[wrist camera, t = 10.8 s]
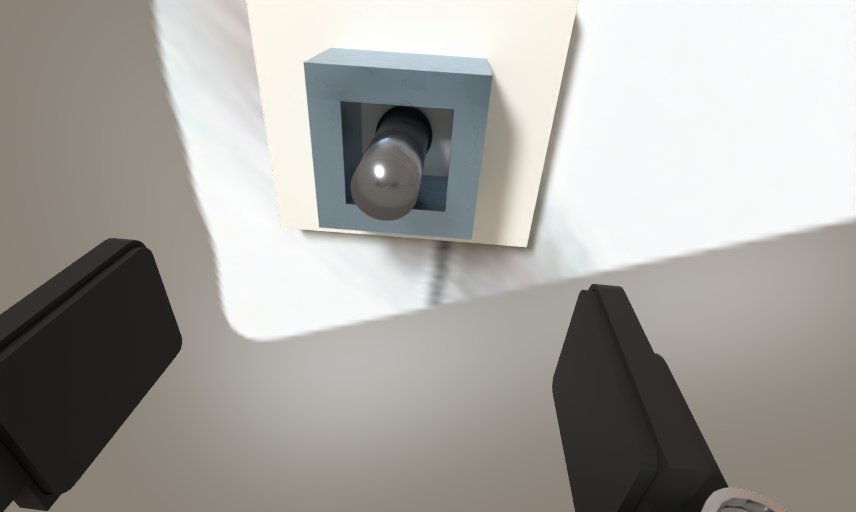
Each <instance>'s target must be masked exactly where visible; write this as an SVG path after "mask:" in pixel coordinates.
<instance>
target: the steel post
mask: <svg viewBox="0 0 856 512" xmlns="http://www.w3.org/2000/svg"><path fill="white" fill-rule="evenodd" d="M432 136H433V132H432V126H431V123H430V121H429V119H428V118H427V116H426V115H425V114H424V113H423V112H422V111H420V110H419V109H417V108H415V107H413V106H402V105H398V106H394V107H392V108H390V109H389V110H387V111H386V112H385V113H384V114H383V115H382V117H381V118H380V120H379V122H378V124H377V127H376V134H375V136H374V138H373V140H372V141H371V143H370V145H369V147H368V149H367V151H366V152H365V154H364V156H363V158H362V160H361V161H360V163H359V165H358V167H357V169H356V171H355V172H354V174H353V176H352V180H351V194H352V198H353V200H354V202H355V204H356V205H357V206H358V208H359V209H360V210H361V211H362V212H363V213H365V214H366V215H368V216H370V217H372V218H374V219H377V220H382V221H392V220H397V219H399V218H402V217H404V216H405V215H407V214H408V213H409V212H410V211H411V210H412V209H413V207H414V205H415V203H416V201H417V197H418V192H419V187H420V182H421V177H422V172H423V167H424V162H425V157H426V153H427V152H428V150H429V148H430V146H431V142H432Z"/></svg>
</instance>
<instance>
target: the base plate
mask: <svg viewBox="0 0 856 512" xmlns="http://www.w3.org/2000/svg"><path fill="white" fill-rule="evenodd" d="M246 2H247V9H248V15H249V22H250V29H251V35H252V42H253V48H254V55H255V62H256V68H257V75H258V82H259V88H260V95H261V102H262V108H263V115H264V121H265V128H266V135H267V141H268V148H269V155H270V161H271V168H272V175H273V181H274V188H275V194H276V201H277V208H278V214H279V221H280V228H291V229H303V230H316V231H329V232H341V233H354V234H366V235H379V236H392V237H404V238H417V239H430V240H442V241H455V242H467V243H480V244H493V245H505V246H518V247H527V243H528V238H529V233H530V229H531V224H532V219H533V214H534V209H535V205H536V200H537V195H538V190H539V186H540V181H541V176H542V171H543V167H544V162H545V157H546V152H547V147H548V143H549V138H550V133H551V128H552V124H553V119H554V114H555V109H556V105H557V100H558V95H559V90H560V85H561V81H562V76H563V71H564V66H565V62H566V57H567V52H568V47H569V43H570V38H571V33H572V28H573V23H574V19H575V14H576V9H577V4H578V0H246ZM329 48H341V49H356V50H370V51H385V52H399V53H414V54H428V55H442V56H457V57H471V58H486V59H487V60H488V63H489V66H490V69H491V72H492V75H493V77H492V84H491V92H490V100H489V108H488V116H487V124H486V131H485V139H484V147H483V155H482V163H481V171H480V178H479V186H478V194H477V202H476V210H475V218H474V226H473V233H472V240H469V239H457V238H444V237H432V236H419V235H406V234H394V233H381V232H369V231H356V230H344V229H331V228H319V221H318V211H317V200H316V190H315V179H314V169H313V158H312V147H311V137H310V126H309V116H308V105H307V94H306V84H305V73H304V63H303V62H305V61H307V60H309V59H310V58H312V57H314V56H316V55H318V54H320V53H322V52H324V51H326V50H328V49H329ZM394 106H398V105H388V104H374V103H361V116H362V150H363V156H364V154H365V152H366V151H367V149H368V147H369V145H370V143H371V141H372V140H373V138H374V136H375V134H376V127H377V124H378V122H379V120H380V118H381V117H382V115H383V114H384V113H385V112H386V111H387V110H389V109H390V108H392V107H394ZM413 107H415V108H417V109H419V110H420V111H422V112H423V113H424V114H425V115H426V116H427V118H428V119H429V121H430V123H431V126H432V132H433V136H432V142H431V146H430V148H429V150H428V152H427V153H426V157H425V162H424V167H423V172H422V175H431V176H444V177H448V167H449V155H450V143H451V131H452V119H453V109H443V108H430V107H416V106H413Z"/></svg>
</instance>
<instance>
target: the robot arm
mask: <svg viewBox="0 0 856 512" xmlns="http://www.w3.org/2000/svg"><path fill="white" fill-rule="evenodd" d="M181 346H182V337H181V334H180V331H179V328H178V325H177V322H176V319H175V316H174V314H173V311H172V308H171V305H170V302H169V299H168V296H167V294H166V291H165V288H164V285H163V283H162V279H161V276H160V274H159V271H158V268H157V265H156V262H155V259H154V256H153V254H152V252H151V251H150V250H149V249H148V248H146V246H145V245H144V244H143V243H142V242H140V241H137V240H128V239H117V238H110V239H107V240H105V241H103V242H102V243H101V244H99V245H98V246H96V247H95V248H94V249H92V250H91V251H89V252H88V253H87V254H85V255H84V256H82V257H81V258H80V259H78V260H77V261H75V262H74V263H72V264H71V265H70V266H68V267H67V268H65V269H64V270H63V271H61V272H60V273H58V274H57V275H56V276H54V277H53V278H51V279H50V280H49V281H47V282H46V283H44V284H43V285H41V286H40V287H39V288H37V289H36V290H34V291H33V292H32V293H30V294H29V295H27V296H26V297H24V298H23V299H22V300H21V301H19V302H17V303H16V304H15V305H13V306H12V307H10V308H9V309H8V310H6V311H5V312H3V313H2V314H1V315H0V512H4V510H5V509H6V508H7V507H8V506H9V505H10V503H11V502H12V501H13V500H14V501H15V502H16V504H17V505H18V506H19V507H21V508H29V509H36V510H44V511H48V510H49V509H50V507H51V506H52V505H53V504H54V502H55V501H56V500H57V499H58V497H59V496H60V495H61V494H62V493H65V492H67V491H68V490H70V489H71V488H72V487H73V486H74V485H75V484H76V482H77V481H78V480H79V478H80V477H81V476H82V475H83V473H84V472H85V471H86V470H87V468H88V467H89V466H90V465H91V463H92V462H93V461H94V460H95V458H96V457H97V456H98V455H99V453H100V452H101V451H102V449H103V448H104V447H105V446H106V444H107V443H108V442H109V441H110V439H111V438H112V437H113V435H114V434H115V433H116V432H117V430H118V429H119V428H120V427H121V425H122V424H123V423H124V422H125V420H126V419H127V417H129V415H130V414H131V413H132V411H133V410H134V409H135V408H136V406H137V405H138V404H139V403H140V401H141V400H142V399H143V397H144V396H145V395H146V394H147V392H148V391H149V390H150V389H151V387H152V386H153V385H154V383H155V382H156V381H157V380H158V379H159V377H160V376H161V375H162V373H163V372H164V371H165V370H166V368H167V367H168V366H169V365H170V363H171V362H172V361H173V359H174V358H175V357H176V355H177V354H178V353H179V351H180V349H181ZM552 389H553V397H554V402H555V408H556V413H557V418H558V423H559V428H560V434H561V439H562V444H563V450H564V454H565V460H566V465H567V471H568V476H569V481H570V487H571V492H572V497H573V502H574V507H575V512H787V511H786V510H784V509H783V508H782V507H780V506H779V505H778V504H776V503H775V502H773V501H771V500H769V499H767V498H765V497H764V496H762V495H760V494H758V493H755V492H752V491H748V490H745V489H741V488H729V487H728V485H727V483H726V481H725V479H724V477H723V475H722V473H721V471H720V469H719V467H718V465H717V463H716V461H715V460H714V457H713V455H712V453H711V451H710V449H709V447H708V445H707V443H706V441H705V439H704V437H703V436H702V433H701V431H700V430H699V427H698V425H697V423H696V421H695V419H694V418H693V415H692V413H691V411H690V409H689V408H688V405H687V403H686V401H685V399H684V398H683V396H682V393H681V391H680V389H679V387H678V385H677V384H676V381H675V379H674V377H673V375H672V373H671V371H670V369H669V367H668V366H667V363H666V362H665V360H664V359H663V358H662V357H661V356H660V355H658V354H655V353H654V352H653V350H652V347H651V345H650V343H649V341H648V339H647V337H646V335H645V333H644V331H643V329H642V327H641V325H640V323H639V320H638V319H637V316H636V314H635V312H634V310H633V308H632V306H631V304H630V302H629V300H628V298H627V296H626V294H625V291H624V290H623V289H622V287H620V286H609V285H599V284H592V285H591V287H590V288H589V290H582V291H581V292H580V293H579V296H578V299H577V302H576V306H575V309H574V312H573V315H572V319H571V322H570V325H569V328H568V332H567V335H566V338H565V342H564V345H563V348H562V351H561V354H560V357H559V361H558V364H557V367H556V370H555V373H554V377H553V385H552Z"/></svg>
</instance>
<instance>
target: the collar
mask: <svg viewBox="0 0 856 512" xmlns="http://www.w3.org/2000/svg"><path fill="white" fill-rule="evenodd" d="M303 63H304V73H305V84H306V94H307V105H308V116H309V126H310V137H311V147H312V158H313V169H314V179H315V190H316V200H317V211H318V221H319V228H331V229H344V230H356V231H369V232H381V233H394V234H406V235H419V236H432V237H444V238H457V239H469V240H472V233H473V226H474V218H475V210H476V202H477V194H478V186H479V178H480V171H481V163H482V155H483V147H484V139H485V131H486V124H487V116H488V108H489V100H490V92H491V84H492V77H493V75H492V72H491V69H490V66H489V63H488V60H487V59H486V58H471V57H457V56H442V55H428V54H414V53H399V52H385V51H370V50H356V49H341V48H329V49H328V50H326V51H324V52H322V53H320V54H318V55H316V56H314V57H312V58H310V59H309V60H307V61H305V62H303ZM361 103H374V104H388V105H402V106H416V107H430V108H443V109H453V119H452V131H451V143H450V155H449V167H448V177H444V176H431V175H422V177H421V182H420V187H419V192H418V197H417V201H416V203H415V205H414V207H413V209H412V210H411V211H410V212H409V213H408V214H407V215H405V216H404V217H402V218H399V219H397V220H392V221H382V220H377V219H374V218H372V217H370V216H368V215H366V214H365V213H363V212H362V211H361V210H360V209H359V208H358V206H357V205H356V204H355V202H354V200H353V198H352V194H351V180H352V176H353V174H354V172H355V171H356V169H357V167H358V165H359V163H360V161H361V160H362V158H363V150H362V116H361Z"/></svg>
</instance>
